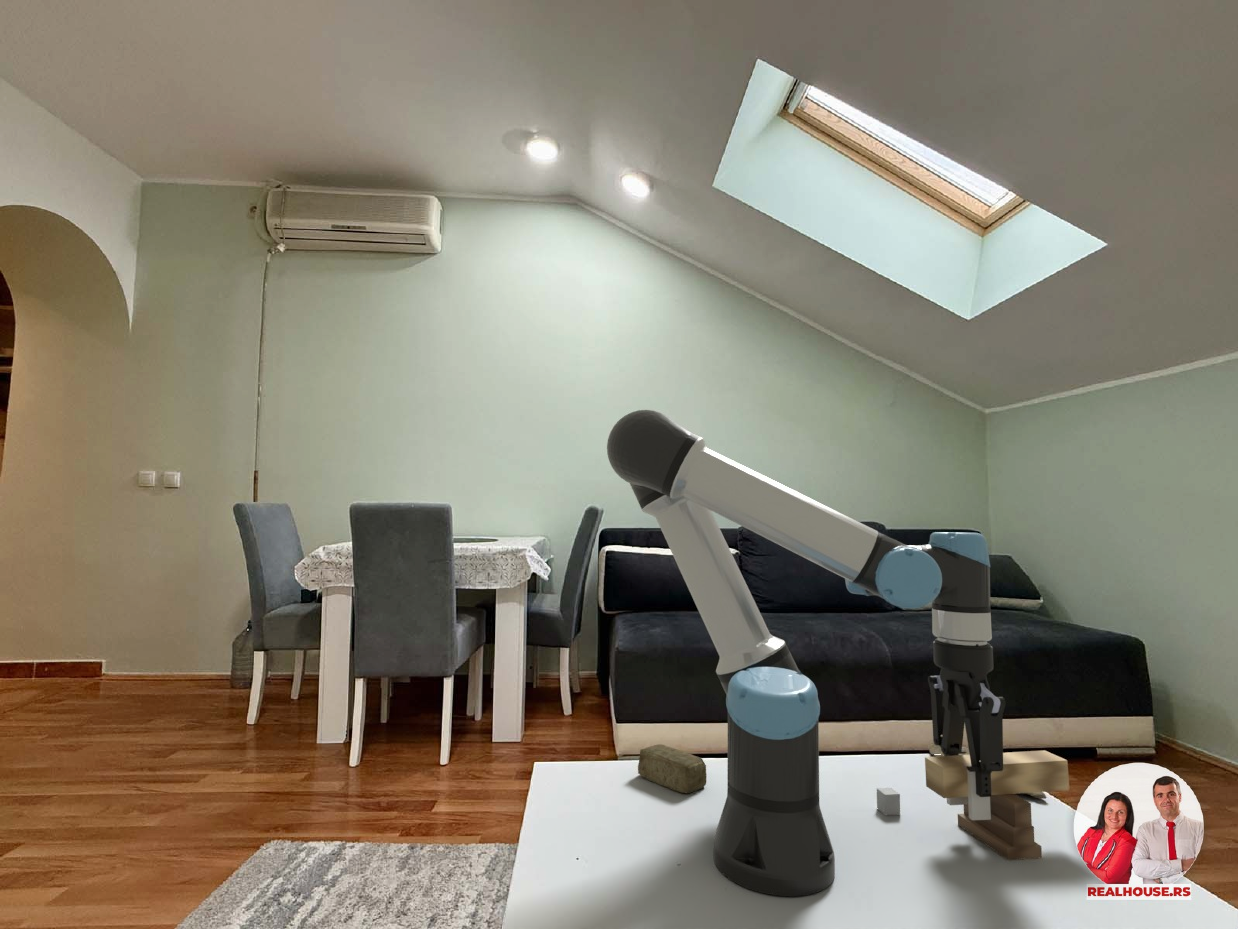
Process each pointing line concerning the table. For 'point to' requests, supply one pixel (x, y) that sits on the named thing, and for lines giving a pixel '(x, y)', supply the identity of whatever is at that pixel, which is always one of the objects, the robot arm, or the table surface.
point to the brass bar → (999, 774)
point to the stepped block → (1005, 827)
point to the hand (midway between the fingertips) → (968, 810)
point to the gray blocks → (888, 801)
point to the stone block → (672, 768)
